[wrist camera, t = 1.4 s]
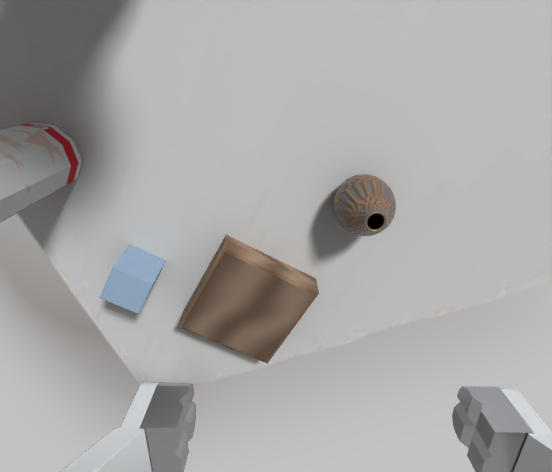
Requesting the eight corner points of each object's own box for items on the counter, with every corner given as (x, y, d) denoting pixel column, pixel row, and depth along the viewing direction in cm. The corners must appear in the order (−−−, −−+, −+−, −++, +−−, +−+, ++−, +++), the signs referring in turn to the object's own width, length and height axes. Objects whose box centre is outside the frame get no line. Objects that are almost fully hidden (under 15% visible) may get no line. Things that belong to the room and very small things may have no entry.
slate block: (118, 272, 49) (99, 297, 44) (130, 244, 47) (112, 267, 42) (152, 287, 50) (138, 313, 45) (165, 260, 48) (152, 284, 43)
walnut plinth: (184, 310, 52) (177, 328, 48) (226, 234, 47) (222, 248, 43) (267, 346, 55) (267, 365, 51) (315, 278, 50) (319, 295, 46)
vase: (326, 218, 46) (338, 249, 38) (333, 166, 43) (348, 188, 35) (378, 221, 46) (401, 253, 38) (389, 170, 44) (416, 192, 36)
